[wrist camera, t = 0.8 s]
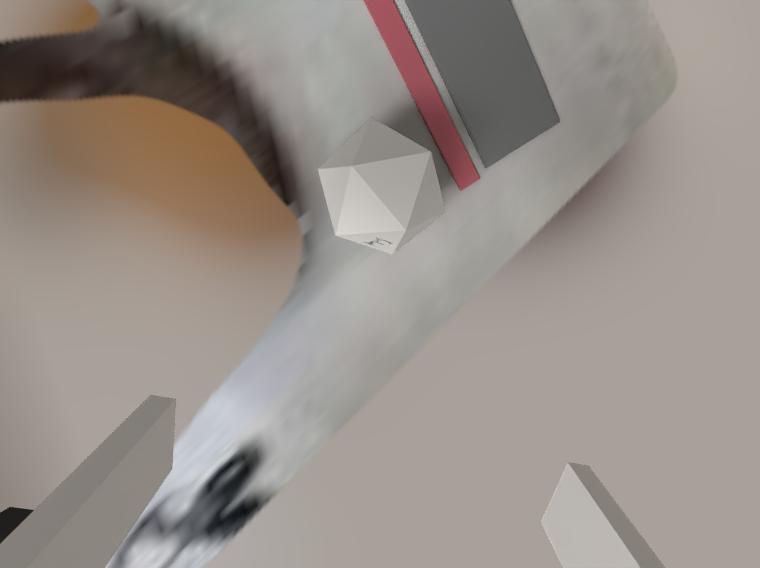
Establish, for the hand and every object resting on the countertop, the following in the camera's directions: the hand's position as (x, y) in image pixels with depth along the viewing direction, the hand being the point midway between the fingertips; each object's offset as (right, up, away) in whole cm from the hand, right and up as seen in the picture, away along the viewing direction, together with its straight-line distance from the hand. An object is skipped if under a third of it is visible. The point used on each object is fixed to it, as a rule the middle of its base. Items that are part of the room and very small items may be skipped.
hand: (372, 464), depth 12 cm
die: (0, +13, +17) cm, 22 cm away
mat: (+9, +25, +18) cm, 32 cm away
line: (+4, +22, +17) cm, 28 cm away
